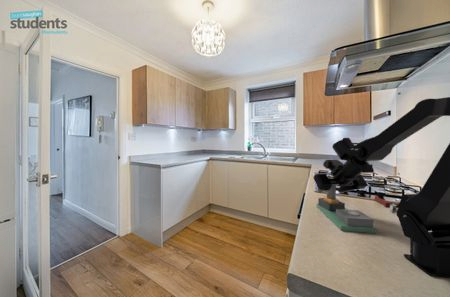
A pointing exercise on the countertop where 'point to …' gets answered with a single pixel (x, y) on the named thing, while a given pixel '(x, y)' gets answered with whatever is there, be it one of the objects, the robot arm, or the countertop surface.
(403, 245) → the countertop surface
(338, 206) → the frame
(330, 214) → the board
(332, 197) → the plug
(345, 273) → the countertop surface
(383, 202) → the pliers
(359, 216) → the grey button box
